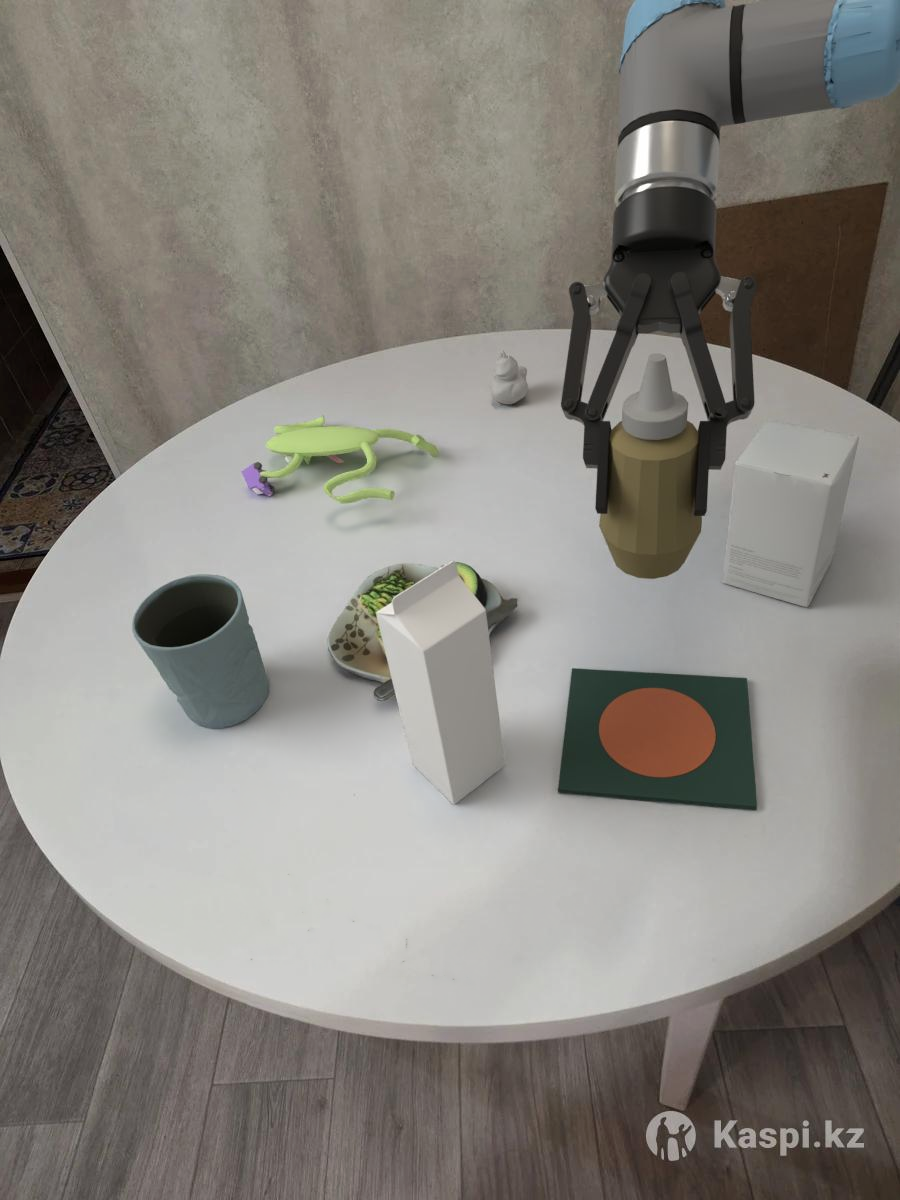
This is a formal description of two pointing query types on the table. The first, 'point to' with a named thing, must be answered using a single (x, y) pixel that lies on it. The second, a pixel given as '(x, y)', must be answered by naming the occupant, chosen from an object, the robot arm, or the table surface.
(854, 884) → the table surface
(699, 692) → the mat
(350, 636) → the salad plate
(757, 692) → the table surface
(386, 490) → the figurine
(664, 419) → the squeeze bottle
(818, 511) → the white product box
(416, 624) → the milk
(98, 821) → the table surface
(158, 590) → the grey-green cup
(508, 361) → the rubber duck
